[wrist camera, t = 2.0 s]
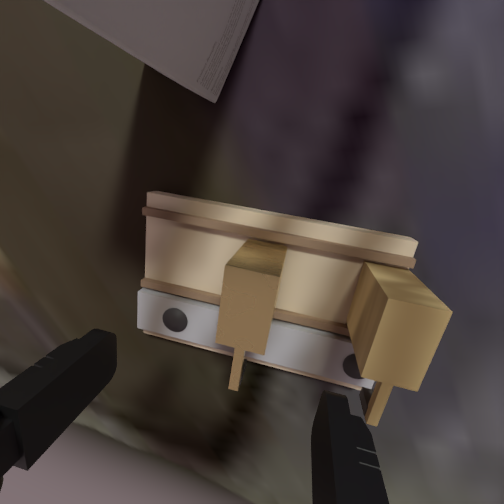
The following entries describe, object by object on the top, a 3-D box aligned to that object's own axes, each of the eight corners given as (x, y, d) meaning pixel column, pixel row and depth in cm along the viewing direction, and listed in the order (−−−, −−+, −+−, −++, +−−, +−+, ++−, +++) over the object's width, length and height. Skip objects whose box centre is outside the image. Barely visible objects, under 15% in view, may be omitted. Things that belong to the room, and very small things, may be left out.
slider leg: (287, 246, 19) (280, 277, 14) (268, 339, 22) (255, 397, 16) (248, 238, 20) (224, 265, 14) (234, 331, 22) (209, 384, 17)
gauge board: (410, 237, 19) (469, 274, 12) (360, 378, 23) (383, 466, 16) (157, 190, 22) (87, 199, 15) (152, 324, 26) (95, 380, 19)
